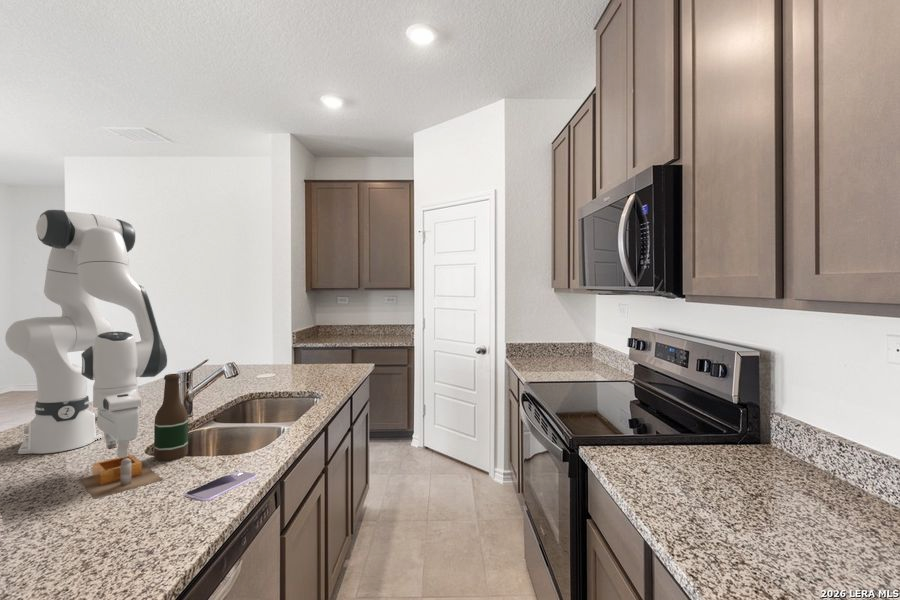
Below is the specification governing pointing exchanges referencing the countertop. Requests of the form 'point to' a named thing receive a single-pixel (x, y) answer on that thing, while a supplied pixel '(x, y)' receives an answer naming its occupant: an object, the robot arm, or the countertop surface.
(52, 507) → the countertop surface
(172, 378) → the beer bottle
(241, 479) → the mobile phone
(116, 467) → the orange hollow square frame
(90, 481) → the board
